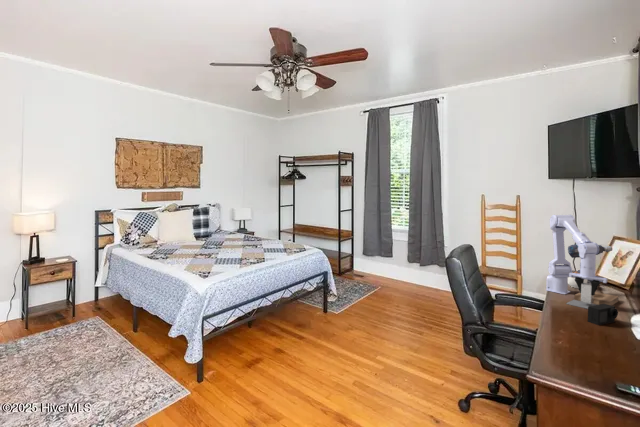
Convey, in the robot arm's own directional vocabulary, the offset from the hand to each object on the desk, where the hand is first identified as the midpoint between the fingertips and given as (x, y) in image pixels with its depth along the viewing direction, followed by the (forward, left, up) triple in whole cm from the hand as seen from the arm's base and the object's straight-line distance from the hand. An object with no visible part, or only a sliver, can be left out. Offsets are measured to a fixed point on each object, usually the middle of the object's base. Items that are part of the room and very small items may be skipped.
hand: (587, 293), depth 158 cm
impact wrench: (-13, +48, -6) cm, 50 cm away
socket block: (0, +14, -6) cm, 15 cm away
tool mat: (0, 0, -6) cm, 6 cm away
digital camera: (+11, -19, -6) cm, 23 cm away
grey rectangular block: (0, 0, -4) cm, 4 cm away
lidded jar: (-15, +34, -6) cm, 37 cm away
